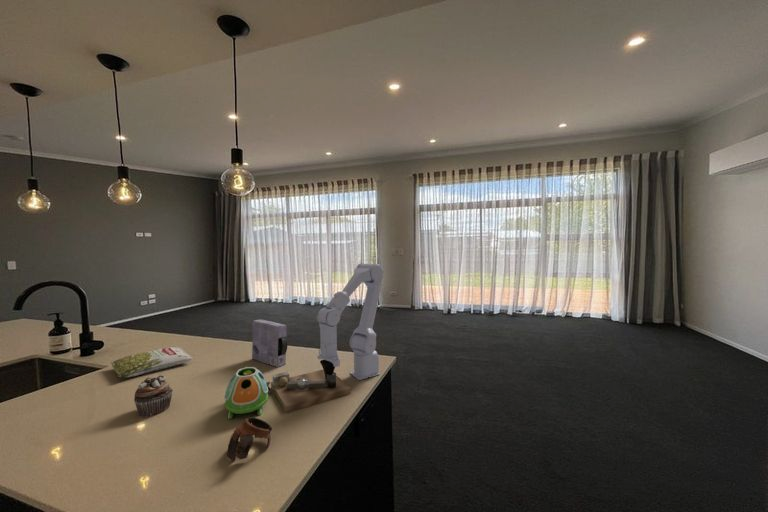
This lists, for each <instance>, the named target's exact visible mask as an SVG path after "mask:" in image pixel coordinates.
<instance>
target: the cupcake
mask: <svg viewBox="0 0 768 512" xmlns="http://www.w3.org/2000/svg"><path fill="white" fill-rule="evenodd" d="M166 379H167V377H165V376H163V375H158V376H157V377H153V378H152V377H146V378H145V379H144V381H142V382H140V384H139V385H138V387H137V388H136V390H135V393H134V399H133V402H134V404H135V406H136V411H137V415H138V414H139V417H141V416H142V417H143V418H146V416H148V417H153V415H154V416H157V415H160V414H162V413H164V412H166V411H167V410H169V408H170V407H171V401H172V395H173V391H174V390H173V389H172V387H170V383H169V382H167V381H166Z"/></svg>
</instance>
